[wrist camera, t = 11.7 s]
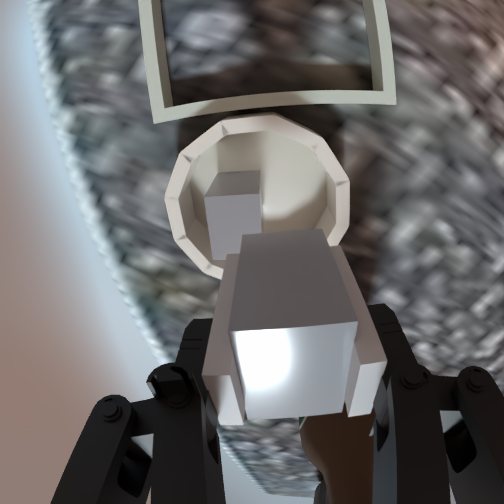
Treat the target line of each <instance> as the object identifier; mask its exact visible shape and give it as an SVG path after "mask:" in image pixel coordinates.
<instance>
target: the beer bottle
mask: <svg viewBox="0 0 504 504" xmlns="http://www.w3.org/2000/svg"><path fill="white" fill-rule="evenodd" d="M375 418H376V413H375V409H374V405H373V408H372V410H371V413H370V414H365V415H358V416H352V417H348V413H347V408H346V403H345V400H344V405H343V409H342V412H340V413H332V414H324V415H314V416H304V417H299V427H300V436H301V442H302V447H303V449H304V451H305V453H306V455H307V457H308V459H309V460H310V462H311V463H312V464H313V465H314V466H315V467H316V468H317V469H318V470H319V471H320V472H321V473H322V474H323V477H324V480H325V484H326V487H327V492H328V498H329V504H372V498H373V468H374V433H373V435H372V436H369V434H370V430H371V427H372V425H373V423H374V420H375Z"/></svg>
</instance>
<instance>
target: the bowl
mask: <svg viewBox="0 0 504 504" xmlns="http://www.w3.org/2000/svg"><path fill="white" fill-rule="evenodd" d="M251 170H261V185H262V202H263V219H264V233H269V232H282V231H295V230H308V229H323V232H324V234H325V237H326V239H327V241H328V244H329V246H337V245H338V244H339V242H340V241H341V239H342V237H343V236H344V234H345V232H346V231H347V229H348V227H349V214H350V181H349V178H348V177H347V175H346V173H345V172H344V170H343V168H342V167H341V165H340V164H339V162H338V160H337V159H336V157H335V156H334V154H333V152H332V151H331V149H330V148H329V146H328V145H327V143H326V142H325V140H324V139H323V138H322V137H321V136H320V135H318V134H317V133H316V132H314V131H313V130H311V129H309V128H307V127H305V126H303V125H301V124H299V123H297V122H295V121H292V120H290V119H288V118H286V117H284V116H282V115H279V114H277V113H275V112H262V113H251V114H242V115H234V116H228V117H226V118H224V119H223V120H221V121H219V122H218V123H217V124H215V125H214V126H213V127H211V128H210V129H209V130H207V131H206V132H205V133H204V134H202V135H201V136H200V137H199V138H197V139H196V140H195V141H193V142H192V143H191V144H190V145H188V146H187V147H186V148H185V149H184V150H182V151H181V152H180V153H179V156H178V159H177V162H176V164H175V167H174V170H173V173H172V176H171V179H170V182H169V185H168V188H167V191H166V194H165V203H166V207H167V212H168V216H169V220H170V225H171V229H172V233H173V237H174V240H175V242H176V243H177V244H178V245H179V246H180V248H181V249H182V250H183V251H184V252H185V253H186V254H187V255H188V256H189V257H190V259H191V260H192V261H193V262H194V263H195V264H196V265H197V266H198V267H199V268H200V269H201V270H202V272H204V273H205V274H208V275H210V276H213V277H216V278H218V279H222V275H223V270H224V266H225V261H226V260H213V258H212V251H211V245H210V238H209V231H208V223H207V216H206V209H205V201H204V196H205V194H206V193H207V191H208V189H209V187H210V185H211V184H212V182H213V180H214V178H215V177H216V175H217V173H221V172H235V171H251Z"/></svg>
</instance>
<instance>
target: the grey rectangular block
mask: <svg viewBox="0 0 504 504" xmlns="http://www.w3.org/2000/svg"><path fill="white" fill-rule="evenodd" d="M204 201H205V209H206V216H207V223H208V231H209V238H210V245H211V251H212V258H213V260H226V256H227V254H236V253H240V247H241V241H242V235H245V234H257V233H264V219H263V202H262V185H261V170H251V171H235V172H221V173H217V175H216V177H215V178H214V180H213V182H212V184H211V185H210V187H209V189H208V191H207V193H206V194H205V196H204Z"/></svg>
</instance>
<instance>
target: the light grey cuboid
mask: <svg viewBox="0 0 504 504" xmlns="http://www.w3.org/2000/svg"><path fill="white" fill-rule="evenodd" d="M357 325H358V320H357V317H356V314H355V311H354V309H353V306H352V303H351V301H350V298H349V295H348V292H347V290H346V287H345V284H344V282H343V279H342V277H341V274H340V271H339V269H338V266H337V264H336V261H335V259H334V256H333V254H332V251H331V249H330V246H329V244H328V241H327V239H326V237H325V234H324V232H323V229H308V230H295V231H282V232H269V233H257V234H245V235H242V241H241V247H240V254H239V260H238V267H237V274H236V281H235V287H234V294H233V301H232V308H231V315H230V322H229V329H228V334H229V338H230V343H231V348H232V351H233V354H234V358H235V363H236V367H237V372H238V376H239V380H240V385H241V389H242V393H243V398H244V402H245V409H246V413H247V417H248V419H275V418H291V417H304V416H314V415H324V414H332V413H340V412H342V409H343V405H344V400H345V398H344V395H345V390H346V385H347V379H348V373H349V368H350V362H351V356H352V349H353V342H354V341H355V339H356V332H357Z"/></svg>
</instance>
